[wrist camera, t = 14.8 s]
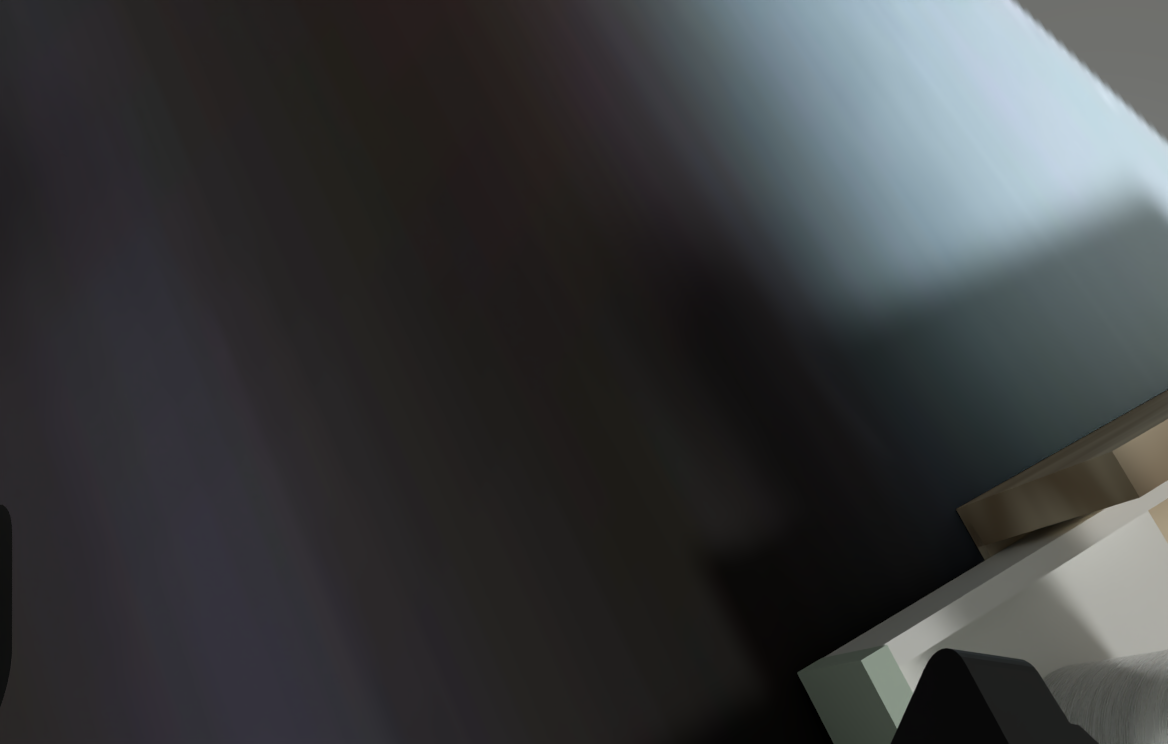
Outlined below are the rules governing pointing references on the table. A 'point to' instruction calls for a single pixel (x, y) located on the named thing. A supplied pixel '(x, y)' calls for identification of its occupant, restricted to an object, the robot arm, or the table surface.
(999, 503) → the dock
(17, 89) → the table surface
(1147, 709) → the canister
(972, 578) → the tray
